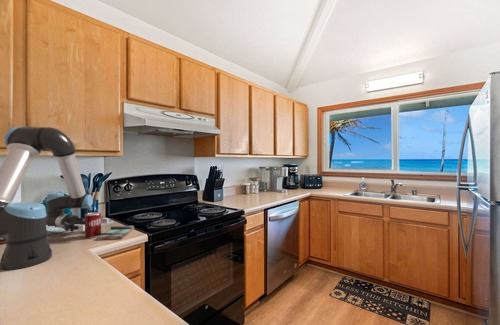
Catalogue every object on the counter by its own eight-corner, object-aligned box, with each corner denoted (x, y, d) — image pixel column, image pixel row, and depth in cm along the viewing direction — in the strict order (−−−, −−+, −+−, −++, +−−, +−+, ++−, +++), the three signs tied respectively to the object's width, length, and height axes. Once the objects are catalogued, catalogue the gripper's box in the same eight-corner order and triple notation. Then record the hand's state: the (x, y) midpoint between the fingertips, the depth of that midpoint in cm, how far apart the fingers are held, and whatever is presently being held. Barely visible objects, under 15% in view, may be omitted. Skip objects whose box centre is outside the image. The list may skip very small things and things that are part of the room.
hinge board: (96, 240, 117) (96, 235, 117) (112, 229, 134) (112, 225, 134) (121, 239, 118) (121, 234, 118) (134, 228, 136) (134, 224, 136)
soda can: (104, 234, 126) (104, 212, 126) (94, 238, 119) (93, 215, 119) (92, 233, 127) (91, 212, 127) (81, 238, 120) (81, 215, 119)
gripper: (89, 222, 141) (116, 224, 134) (42, 235, 117) (72, 239, 110) (89, 210, 140) (116, 212, 134) (41, 220, 117) (72, 223, 110)
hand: (96, 224), depth 122 cm, fingers open, 13 cm apart
